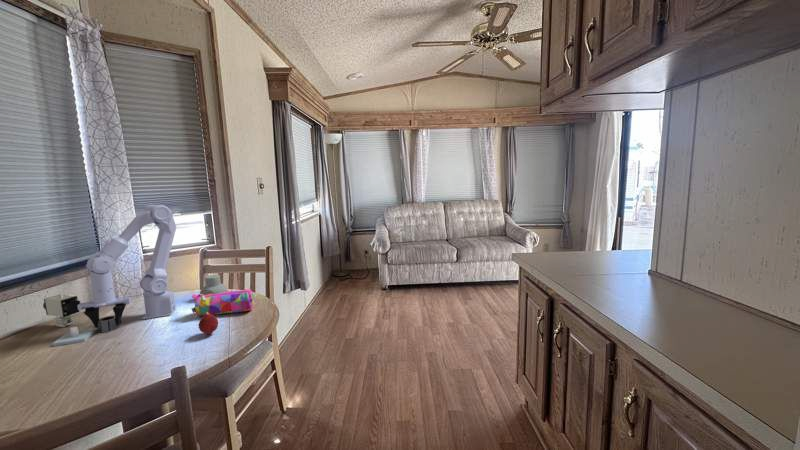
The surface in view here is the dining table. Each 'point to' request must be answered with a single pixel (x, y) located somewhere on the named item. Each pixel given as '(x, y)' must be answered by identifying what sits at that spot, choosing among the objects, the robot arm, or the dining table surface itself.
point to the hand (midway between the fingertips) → (108, 325)
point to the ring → (107, 324)
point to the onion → (208, 324)
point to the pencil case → (223, 302)
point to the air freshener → (213, 285)
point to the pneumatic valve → (62, 308)
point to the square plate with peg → (74, 336)
